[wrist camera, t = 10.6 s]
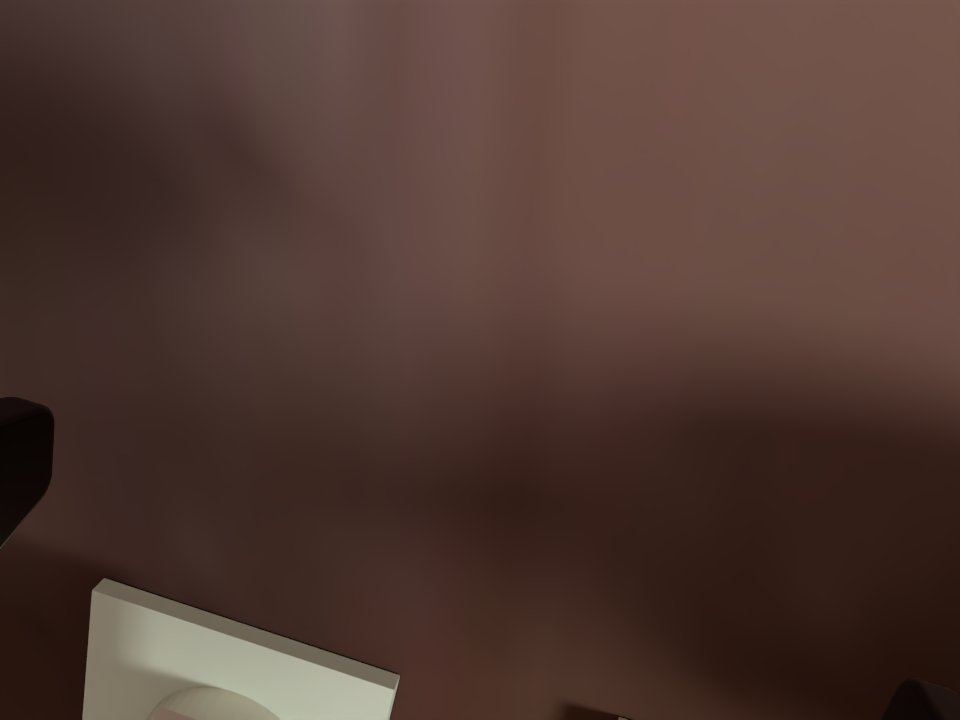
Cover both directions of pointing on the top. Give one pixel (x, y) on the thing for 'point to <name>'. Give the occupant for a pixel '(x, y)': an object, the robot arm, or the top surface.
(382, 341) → the top surface
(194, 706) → the cream jug
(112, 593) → the sage coaster
